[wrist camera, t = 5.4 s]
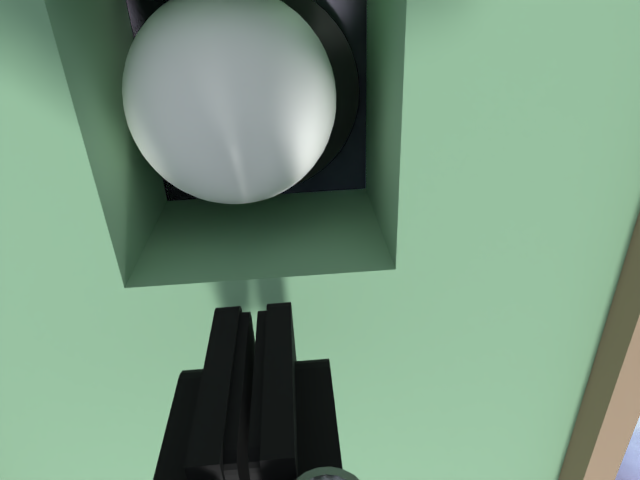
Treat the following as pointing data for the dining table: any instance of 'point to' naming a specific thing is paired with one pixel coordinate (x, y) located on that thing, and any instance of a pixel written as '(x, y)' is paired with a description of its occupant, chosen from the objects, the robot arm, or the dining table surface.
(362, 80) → the dining table surface
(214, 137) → the ball
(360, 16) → the dining table surface
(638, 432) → the dining table surface
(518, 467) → the putting tray
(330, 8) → the dining table surface
